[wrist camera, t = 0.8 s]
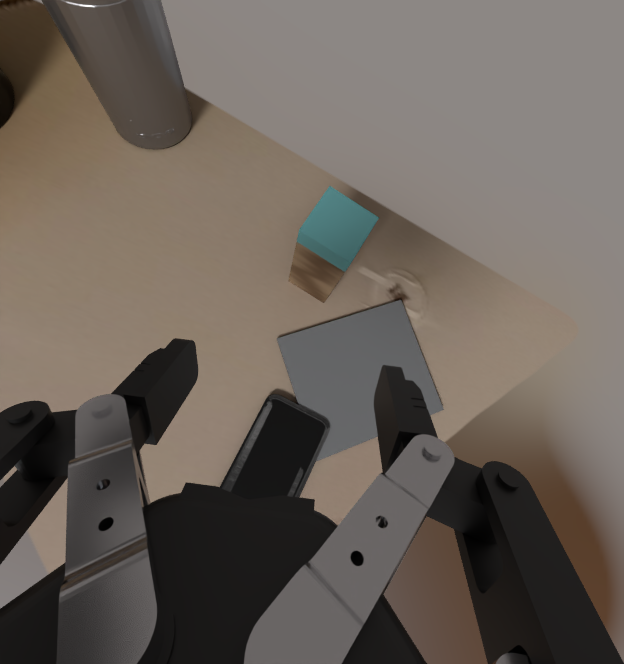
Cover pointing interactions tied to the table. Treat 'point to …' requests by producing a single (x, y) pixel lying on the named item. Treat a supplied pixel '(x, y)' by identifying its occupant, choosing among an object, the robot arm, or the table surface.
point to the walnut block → (329, 243)
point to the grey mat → (353, 370)
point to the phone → (277, 451)
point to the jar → (5, 97)
